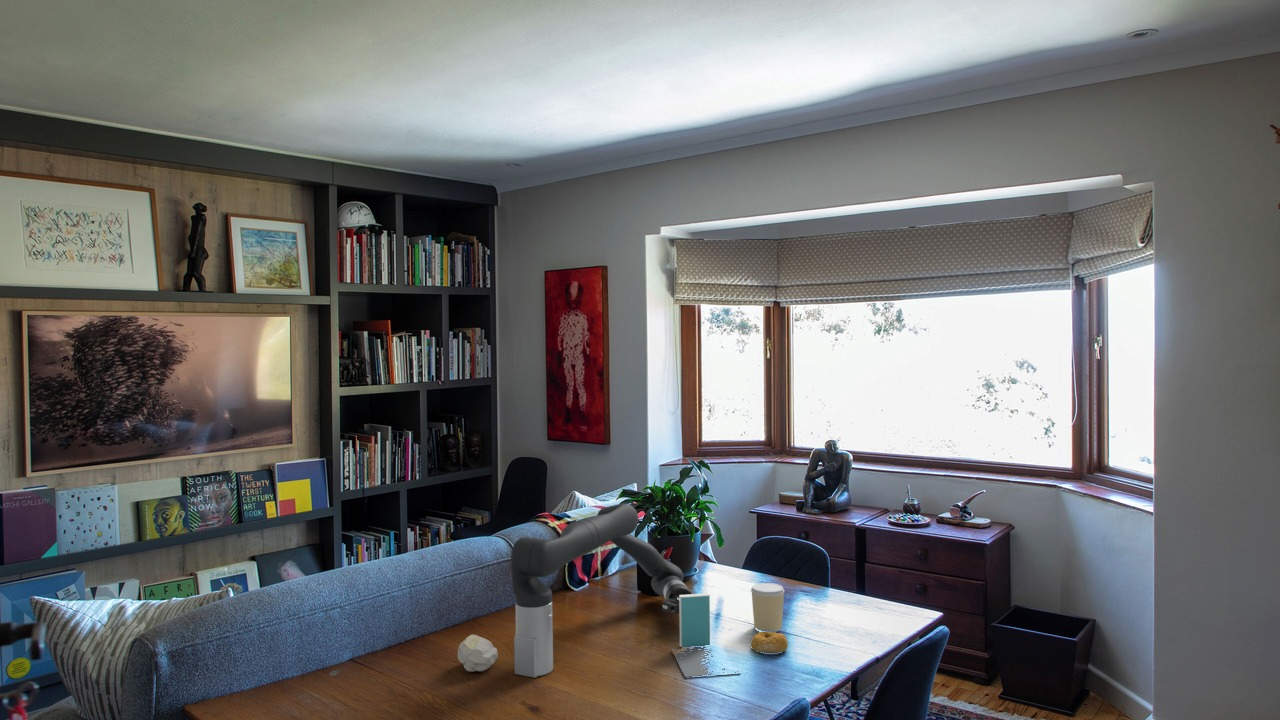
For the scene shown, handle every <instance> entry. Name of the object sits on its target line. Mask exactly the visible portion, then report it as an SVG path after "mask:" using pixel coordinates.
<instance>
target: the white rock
mask: <svg viewBox="0 0 1280 720" xmlns="http://www.w3.org/2000/svg"><path fill="white" fill-rule="evenodd" d="M498 657H499V656H498V648H496V647H494V645H493V643H492V642H491V641H490V640H488V639H486V638H484V637H483V636H479V635H476V634H470V635H468V636H467V637H466V638H465V639H464V640H463V641H462V642H461V643H459V645H458V649H457V659H458V661H459V662H460V663H461V664H462V665H463V667H464V669H465V671H467V672H485V671H486V670H488V669H489V668H490V667H492V665H494V663H495V662H496V661H497V659H498Z"/></svg>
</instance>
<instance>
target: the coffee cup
mask: <svg viewBox="0 0 1280 720" xmlns="http://www.w3.org/2000/svg"><path fill="white" fill-rule="evenodd" d="M750 591H751V601H752V613H753V614H752V615H753V625H754V629H755V628H757V629H758V630H761V631H768V632H769V631H778V630H780V629H781V628H782V629H783V613H784V595H785V589H784V587H783V586H782V585H781V584H779V583H772V582H760V583H759V582H758V583H755V584H753V585H752V586H751V589H750ZM782 629H781V630H782Z"/></svg>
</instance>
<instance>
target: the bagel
mask: <svg viewBox="0 0 1280 720" xmlns="http://www.w3.org/2000/svg"><path fill="white" fill-rule="evenodd" d="M750 647H752V648H753V649H754V650H755V651H758V652H762V653H761V654H763V652H764V653H772V654H773V653H779V652H782V651H785V650H786V651H787V649H788V648H789V645H788V638H787V636H786V635H785V634H783V633H781V632H778V633H776V632H758V631H757V633H756V634H755V635H753V637H752V638H751V640H750ZM752 648H751V649H752ZM753 649H752V650H753ZM754 650H753V651H754ZM755 651H754V652H755ZM786 651H785V652H786ZM758 652H757V653H758Z"/></svg>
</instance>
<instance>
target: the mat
mask: <svg viewBox="0 0 1280 720" xmlns="http://www.w3.org/2000/svg"><path fill="white" fill-rule="evenodd" d="M704 648H706V647H703V648H701V647H694V648H693V649H689V648H687V650H685V651H680V652H684V653H678V654H674V655H676V656H675V658H676V660H677V662H678V664H679V666H680V668H681V669H680V668H679V669H680V671H681V670H682V671H681V673H682V672H683V673H682V675H683V674H684V675H683V677H684V676H685V677H692V676H702V675H707V674H708V671H707V670H708V668H709V667H708V666H706V667H708V668H706V667H703V666H705V665H706V664H708V663H710V662H708V663H705V664H701V663H702V662H705V661H706V660H704V661H701V660H702V659H706V658H707V657H705V656H708V655H709V654H708V653H711V652H709V651H712V650H709V651H704V650H708V649H704ZM673 649H674V650H677V649H678V648H673ZM698 649H701V650H698ZM710 649H711V648H710ZM690 650H692V651H690ZM672 652H677V651H672ZM672 652H671V653H672ZM689 652H690V653H689ZM705 652H708V653H705ZM684 654H686V655H684ZM704 654H707V655H704ZM702 655H703V656H702ZM711 655H712V654H711ZM680 657H683V658H680ZM701 657H702V658H701ZM711 657H713V656H711ZM675 658H674V659H675ZM698 658H699V659H698ZM708 658H709V657H708ZM676 660H675V661H676ZM707 660H709V659H707ZM677 662H676V663H677ZM678 664H677V665H678ZM700 664H701V665H700ZM679 666H678V667H679ZM702 667H703V668H702ZM704 668H705V669H704ZM701 669H702V670H701ZM722 670H725V668H724V669H722ZM705 671H706V672H705ZM712 672H713V671H712ZM737 672H738V671H737ZM709 673H710V672H709ZM723 673H724V672H723ZM735 673H736V672H735ZM711 674H712V673H711ZM711 674H708V675H711ZM685 677H684V678H685Z"/></svg>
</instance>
